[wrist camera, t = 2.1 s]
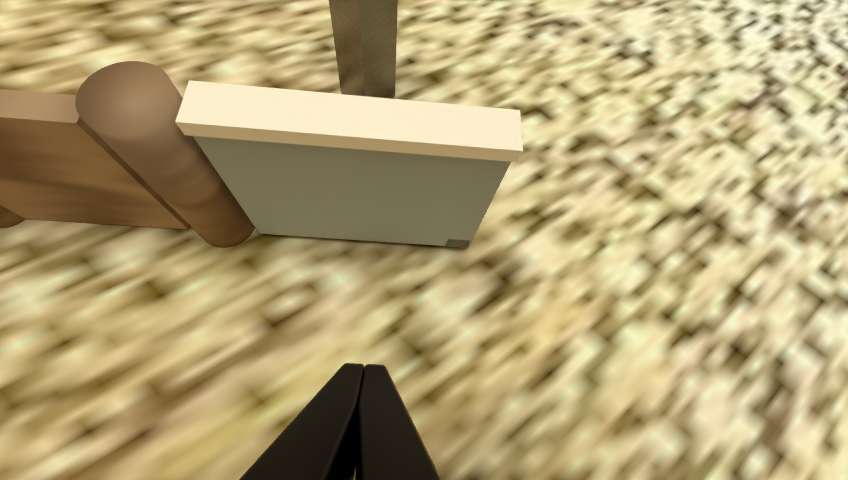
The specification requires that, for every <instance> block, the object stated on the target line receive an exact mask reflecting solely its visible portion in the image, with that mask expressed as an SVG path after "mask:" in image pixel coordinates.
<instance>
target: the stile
mask: <svg viewBox="0 0 848 480" xmlns="http://www.w3.org/2000/svg"><path fill="white" fill-rule="evenodd" d="M397 3H398V0H329V5H330V12H331V20H332V27H333V35H334V42H335V50H336V57H337V65H338V72H339V80H340V87H341V92H342V93H343V94H344V95H355V96H367V97H378V98H389V99H391V98H393V97H394V96H395V67H396V35H397Z"/></svg>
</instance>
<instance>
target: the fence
mask: <svg viewBox="0 0 848 480" xmlns="http://www.w3.org/2000/svg"><path fill="white" fill-rule="evenodd" d="M182 100H183V99H182V97H181V95H180V94H179V92H178V91H177V89H176V87H175V86H174V84H173V83H172V81H171V80H170V78H169V77H168V75H167V74H166V73H165V72H164V71H163V70H161V69H160V68H158V67H157V66H155V65H152V64H149V63H145V62H138V61H128V62H120V63H116V64H112V65H109V66H107V67H104V68H102V69H100V70H98V71H97V72H95V73H93V74H92V75H91V76H90V77H88V78H87V79H86V80H85V81H84V83H83V84H82V85H81V87H80V88H79V90H78V92H77V95H65V94H53V93H41V92H30V91H18V90H7V89H0V228H5V227H10V226H14V225H16V224H18V223H20V222H22V221H23V220H24V219H35V220H50V221H65V222H80V223H95V224H110V225H125V226H140V227H155V228H170V229H184V230H188V229H189V225H190V226H191V227H192V228H193V229H194V230H195V231H196V232H197V233H198V234H199V235H200V236H201V237H202V238H203V239H204V240H206V241H207V242H208V243H209V244H211V245H214V246H217V247H231V246H235V245H237V244H240V243H241V242H243V241H244V240H246V239H247V238H248V237H249V236H250V235H251V233H252V232H253V230H254V228H255V226H254V225H253V223H252V222H251V220H250V219H249V217H248V216H247V215H246V213H245V212H244V210H243V209H242V207H241V206H240V204H239V203H238V201H237V200H236V198H235V197H234V196H233V194H232V193H231V191H230V190H229V188H228V187H227V185H226V184H225V182H224V181H223V179H222V178H221V177H220V175H219V174H218V172H217V171H216V169H215V168H214V166H213V165H212V163H211V162H210V160H209V159H208V157H207V156H206V155H205V153H204V152H203V150H202V149H201V147H200V146H199V144H198V143H197V141H196V140H195V138H194V137H193V136H190V135H184V134H183V132H182V131H181V130H180V128H179V127H178V125H177V124H176V122H175V121H176V118H177V115H178V112H179V109H180V106H181V103H182Z"/></svg>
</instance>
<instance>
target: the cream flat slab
mask: <svg viewBox="0 0 848 480" xmlns="http://www.w3.org/2000/svg"><path fill="white" fill-rule="evenodd" d="M175 122H176V124H177V125H178V127H179V128H180V130H181V131H182V132H183V134H184V135H190V136H193V137H194V138H195V140H196V141H197V143H198V144H199V146H200V147H201V149H202V150H203V152H204V153H205V155H206V156H207V157H208V159H209V160H210V162H211V163H212V165H213V166H214V168H215V169H216V171H217V172H218V174H219V175H220V177H221V178H222V179H223V181H224V182H225V184H226V185H227V187H228V188H229V190H230V191H231V193H232V194H233V196H234V197H235V198H236V200H237V201H238V203H239V204H240V206H241V207H242V209H243V210H244V212H245V213H246V215H247V216H248V217H249V219H250V220H251V222H252V223H253V225H254V226H255V228H256V229H257V231H258V232H259V234H274V235H289V236H304V237H319V238H334V239H349V240H364V241H379V242H394V243H409V244H424V245H439V246H449V247H464V248H468V247H469V245H470V243H471V241H472V239H473V237H474V235H475V233H476V231H477V229H478V227H479V225H480V223H481V221H482V219H483V217H484V215H485V213H486V211H487V209H488V207H489V205H490V203H491V201H492V199H493V197H494V195H495V193H496V191H497V189H498V187H499V185H500V183H501V181H502V179H503V177H504V175H505V173H506V171H507V169H508V167H509V165H510V163H511V162H517V161H518V159H519V157H520V155H521V153H522V151H523V148H522V134H521V119H520V110H511V109H500V108H489V107H478V106H467V105H455V104H444V103H433V102H422V101H411V100H400V99H389V98H378V97H367V96H355V95H344V94H333V93H322V92H311V91H300V90H289V89H278V88H267V87H255V86H244V85H233V84H222V83H211V82H200V81H189V83H188V86H187V89H186V91H185V94H184V97H183V100H182V103H181V106H180V109H179V112H178V115H177V118H176V121H175Z"/></svg>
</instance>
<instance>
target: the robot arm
mask: <svg viewBox="0 0 848 480" xmlns="http://www.w3.org/2000/svg"><path fill="white" fill-rule="evenodd" d="M355 470H356V473H355ZM354 477H355V480H441V478H440V476H439V474H438V472H437V470H436V468H435V466H434V464H433V462H432V460H431V458H430V456H429V454H428V452H427V450H426V448H425V446H424V443H423V441H422V439H421V437H420V435H419V433H418V431H417V429H416V427H415V425H414V423H413V421H412V419H411V417H410V415H409V413H408V411H407V409H406V407H405V405H404V403H403V401H402V399H401V397H400V395H399V393H398V391H397V389H396V387H395V385H394V383H393V381H392V379H391V377H390V375H389V373H388V371H387V369H386V367H385V366H384V365H375V364H367V365H366V366H365V368H364V365H363V364H354V363H346V364H344V365H343V366H342V367H341V368H340V369H339V370H338V371H337V372H336V373H335V375H334V376H333V377H332V378H331V379H330V380H329V381H328V382H327V383H326V385H325V386H324V387H323V388H322V389H321V390H320V391H319V392H318V393H317V394H316V396H315V397H314V398H313V399H312V400H311V401H310V402H309V403H308V404H307V405H306V407H305V408H304V409H303V410H302V411H301V412H300V413H299V414H298V415H297V417H296V418H295V419H294V420H293V421H292V422H291V423H290V424H289V425H288V426H287V428H286V429H285V430H284V431H283V432H282V433H281V434H280V435H279V436H278V437H277V439H276V440H275V441H274V442H273V443H272V444H271V445H270V446H269V447H268V449H267V450H266V451H265V452H264V453H263V454H262V455H261V456H260V457H259V458H258V460H257V461H256V462H255V463H254V464H253V465H252V466H251V467H250V468H249V469H248V471H247V472H246V473H245V474H244V475H243V476H242V477H241V478H240V479H239V480H354Z"/></svg>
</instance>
